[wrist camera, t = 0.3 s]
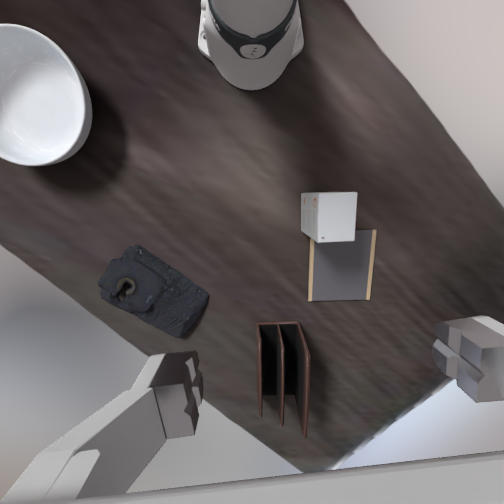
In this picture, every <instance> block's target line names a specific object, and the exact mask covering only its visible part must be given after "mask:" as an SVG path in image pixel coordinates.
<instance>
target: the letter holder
mask: <svg viewBox="0 0 504 504" xmlns="http://www.w3.org/2000/svg"><path fill="white" fill-rule="evenodd" d="M257 393H258V403H259V414H260V417H262V399H263V398H262V396H263V395H276V397H277V403H278V410H279V418H280V425H281V427H283V424H284V398H285V395H295V398H296V403H297V408H298V413H299V419H300V424H301V429H302V434H303V438H304V439H305V438H307V428H308V415H309V393H310V353H309V350H308V347H307V344H306V341H305V338H304V335H303V332H302V329H301V327H300V323H299V322H298V321H285V322H257Z"/></svg>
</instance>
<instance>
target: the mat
mask: <svg viewBox="0 0 504 504" xmlns="http://www.w3.org/2000/svg"><path fill="white" fill-rule="evenodd" d="M376 231H377V230H355V241H341V242H322V243H317V242H316V241H315V240H313V239H312V238H310V256H309V283H308V301H331V300H370V292H371V282H372V271H373V261H374V251H375V241H376Z"/></svg>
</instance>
